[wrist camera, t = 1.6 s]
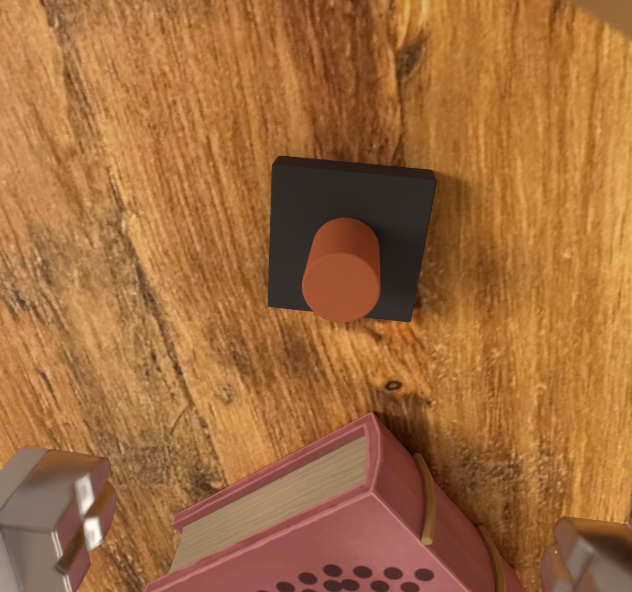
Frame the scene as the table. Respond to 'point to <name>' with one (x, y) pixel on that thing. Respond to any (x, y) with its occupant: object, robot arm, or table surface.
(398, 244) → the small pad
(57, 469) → the robot arm
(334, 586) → the book
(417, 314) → the table surface
